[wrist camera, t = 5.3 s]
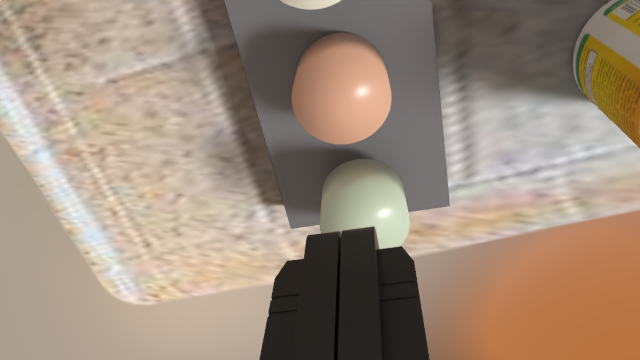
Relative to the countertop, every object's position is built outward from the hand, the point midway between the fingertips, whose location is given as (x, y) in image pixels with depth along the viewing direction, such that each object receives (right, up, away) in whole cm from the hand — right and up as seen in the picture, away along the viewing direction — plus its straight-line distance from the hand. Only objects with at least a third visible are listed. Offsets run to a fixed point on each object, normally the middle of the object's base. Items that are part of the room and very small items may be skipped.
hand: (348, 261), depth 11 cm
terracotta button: (0, +6, +10) cm, 12 cm away
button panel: (0, +7, +12) cm, 14 cm away
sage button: (+1, +1, +12) cm, 12 cm away
